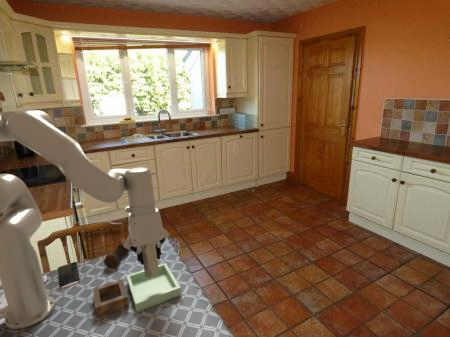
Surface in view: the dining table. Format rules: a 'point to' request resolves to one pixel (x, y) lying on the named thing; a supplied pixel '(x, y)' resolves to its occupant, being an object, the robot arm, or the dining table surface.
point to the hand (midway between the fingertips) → (149, 259)
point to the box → (150, 259)
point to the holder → (113, 303)
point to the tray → (153, 288)
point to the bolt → (115, 256)
